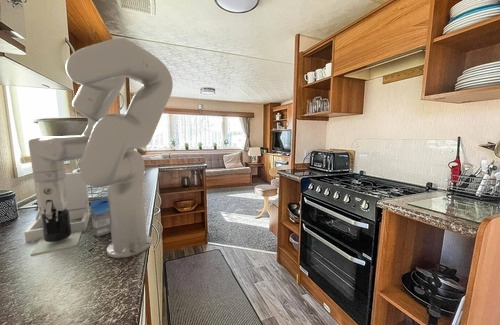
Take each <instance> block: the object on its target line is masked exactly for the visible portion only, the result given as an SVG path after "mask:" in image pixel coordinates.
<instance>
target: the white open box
mask: <svg viewBox="0 0 500 325" xmlns="http://www.w3.org/2000/svg"><path fill="white" fill-rule="evenodd" d="M33 182H34V181H33ZM64 184H65V189H66V194H67V200H68V204H67V206H66V208H65V209H68V210H69V214H70V221H71V220H76V219H81V221H75V222H70V224H71V233H74V232H79V231H82V232H85V231H86V229H87V228H88V223H89V220H90V215H91V211H90V201H89V192H88V184H87V183H86V182H85V181H84V180H83V179H82V177H81V174H80V171H79V172H66V179H64ZM34 189H35V196H36V202H37V213H36V216H35V219H34V221H32V223H31V224H30V225H29V226H28V228H26V230H25V231H24V239H25V243H27V242H33V241H40V240H41V239H43V238H44V236H43V228H42V219H41V216H42V214H43V212H42V209H41V202H40V193H39V183H35V182H34Z"/></svg>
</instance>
